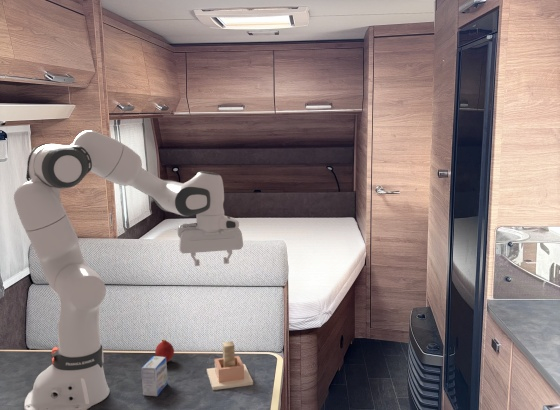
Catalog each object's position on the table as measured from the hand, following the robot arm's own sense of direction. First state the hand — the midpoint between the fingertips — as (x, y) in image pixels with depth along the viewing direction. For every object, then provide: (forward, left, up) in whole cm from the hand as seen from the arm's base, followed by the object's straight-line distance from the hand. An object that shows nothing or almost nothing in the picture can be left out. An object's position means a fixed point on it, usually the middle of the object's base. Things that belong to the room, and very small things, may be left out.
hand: (211, 264), depth 182 cm
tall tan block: (+2, -17, -30) cm, 35 cm away
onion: (-16, -1, -31) cm, 35 cm away
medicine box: (-20, -18, -31) cm, 41 cm away
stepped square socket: (+2, -17, -31) cm, 35 cm away
